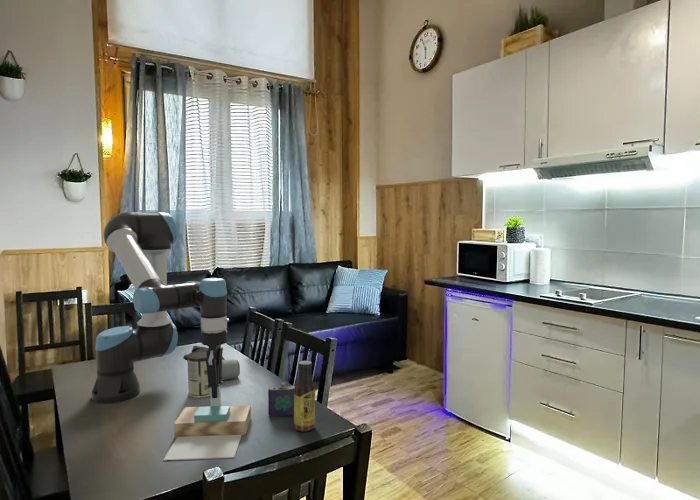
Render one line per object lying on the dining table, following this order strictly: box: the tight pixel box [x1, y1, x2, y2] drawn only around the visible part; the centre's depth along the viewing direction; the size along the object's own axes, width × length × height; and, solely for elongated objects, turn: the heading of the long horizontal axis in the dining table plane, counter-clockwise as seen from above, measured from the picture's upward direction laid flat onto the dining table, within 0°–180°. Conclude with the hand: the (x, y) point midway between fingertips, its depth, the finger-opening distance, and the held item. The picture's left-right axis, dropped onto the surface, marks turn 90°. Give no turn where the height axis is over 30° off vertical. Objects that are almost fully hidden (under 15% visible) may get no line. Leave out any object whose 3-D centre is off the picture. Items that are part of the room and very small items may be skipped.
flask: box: [267, 381, 295, 419], centre depth 140 cm, size 9×3×11 cm, turn 103°
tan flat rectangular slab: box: [173, 404, 252, 438], centre depth 133 cm, size 20×11×4 cm, turn 95°
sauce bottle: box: [293, 360, 316, 433], centre depth 132 cm, size 7×6×20 cm
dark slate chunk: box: [183, 345, 226, 361], centre depth 196 cm, size 15×22×5 cm
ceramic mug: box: [221, 358, 241, 381], centre depth 174 cm, size 11×8×8 cm
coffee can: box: [186, 350, 210, 399], centre depth 159 cm, size 10×10×14 cm
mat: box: [162, 435, 243, 462], centre depth 121 cm, size 18×12×1 cm, turn 95°
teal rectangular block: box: [194, 405, 231, 422], centre depth 130 cm, size 9×6×2 cm, turn 95°
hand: (215, 406), depth 134 cm, fingers closed
